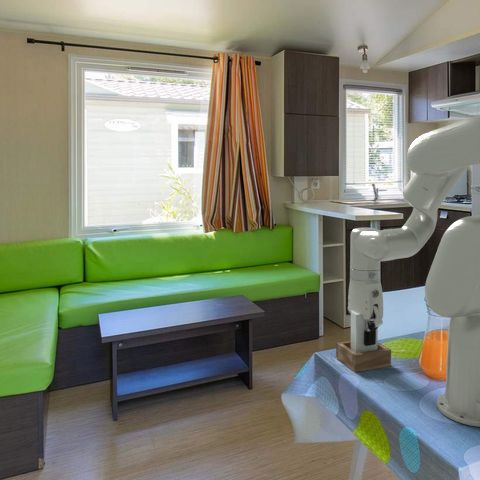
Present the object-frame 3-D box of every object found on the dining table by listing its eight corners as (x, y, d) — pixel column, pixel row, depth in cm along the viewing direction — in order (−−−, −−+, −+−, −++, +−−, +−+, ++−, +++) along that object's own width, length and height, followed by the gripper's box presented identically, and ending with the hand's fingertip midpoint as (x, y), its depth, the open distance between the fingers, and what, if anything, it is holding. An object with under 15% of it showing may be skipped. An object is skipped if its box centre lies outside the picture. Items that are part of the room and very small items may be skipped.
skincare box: (370, 351, 120) (371, 308, 118) (377, 357, 115) (378, 313, 114) (349, 352, 119) (350, 310, 117) (355, 358, 115) (356, 314, 113)
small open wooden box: (390, 366, 115) (391, 349, 114) (354, 372, 111) (355, 355, 111) (369, 353, 124) (370, 337, 123) (335, 358, 120) (336, 342, 120)
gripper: (397, 280, 107) (395, 350, 110) (358, 268, 123) (358, 329, 126) (371, 282, 105) (370, 354, 107) (335, 270, 121) (335, 333, 123)
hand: (363, 340), depth 117 cm, fingers closed on skincare box, 4 cm apart
